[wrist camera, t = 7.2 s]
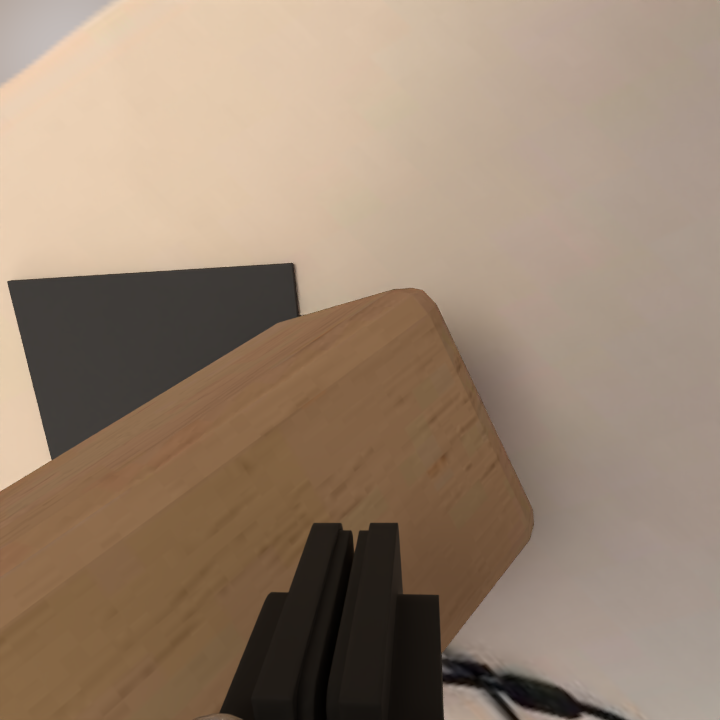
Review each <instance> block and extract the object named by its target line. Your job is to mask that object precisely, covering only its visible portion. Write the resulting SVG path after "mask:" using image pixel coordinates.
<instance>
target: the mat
mask: <svg viewBox="0 0 720 720" xmlns="http://www.w3.org/2000/svg"><path fill="white" fill-rule="evenodd" d="M7 283H8V287H9V291H10V295H11V299H12V303H13V307H14V311H15V315H16V319H17V323H18V327H19V331H20V335H21V339H22V343H23V347H24V351H25V355H26V359H27V363H28V367H29V371H30V375H31V379H32V383H33V387H34V391H35V395H36V399H37V403H38V407H39V411H40V415H41V419H42V423H43V427H44V431H45V435H46V439H47V443H48V447H49V451H50V455H51V459H52V460H53V459H55V458H57V457H58V456H60V455H61V454H63V453H65V452H66V451H68V450H70V449H71V448H73V447H75V446H76V445H78V444H80V443H81V442H83V441H85V440H86V439H88V438H89V437H91V436H93V435H94V434H96V433H98V432H99V431H101V430H103V429H104V428H106V427H108V426H109V425H111V424H112V423H114V422H116V421H117V420H119V419H121V418H122V417H124V416H126V415H127V414H129V413H131V412H132V411H134V410H136V409H137V408H139V407H140V406H142V405H144V404H145V403H147V402H149V401H150V400H152V399H154V398H155V397H157V396H159V395H160V394H162V393H164V392H165V391H167V390H168V389H170V388H172V387H173V386H175V385H177V384H178V383H180V382H182V381H183V380H185V379H187V378H188V377H190V376H191V375H193V374H195V373H196V372H198V371H200V370H201V369H203V368H205V367H206V366H208V365H210V364H211V363H213V362H215V361H216V360H218V359H219V358H221V357H223V356H224V355H226V354H228V353H229V352H231V351H233V350H234V349H236V348H238V347H239V346H241V345H242V344H244V343H246V342H247V341H249V340H251V339H252V338H254V337H256V336H257V335H259V334H261V333H262V332H264V331H266V330H267V329H269V328H270V327H272V326H274V325H275V324H277V323H279V322H283V321H286V320H290V319H293V318H296V317H299V315H298V305H297V296H296V286H295V276H294V267H293V263H284V264H268V265H252V266H236V267H220V268H204V269H188V270H172V271H156V272H139V273H123V274H107V275H91V276H75V277H59V278H43V279H27V280H11V281H7Z"/></svg>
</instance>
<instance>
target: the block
mask: <svg viewBox="0 0 720 720" xmlns="http://www.w3.org/2000/svg"><path fill="white" fill-rule="evenodd" d="M313 523H341V524H342V526H343V530H351V531H352V533H353V542H354V553H355V548H356V544H357V539H358V534H359V531H360V530H369V525H370V523H398V526H399V539H400V554H401V569H402V585H403V594H423V595H439V608H440V631H441V654H442V652H443V651H444V650H445V648H446V647H447V646H448V645H449V643H450V642H451V641H452V639H453V638H454V637H455V636H456V634H457V633H458V632H459V630H460V629H461V628H462V626H463V625H464V624H465V623H466V621H467V620H468V619H469V617H470V616H471V615H472V614H473V612H474V611H475V610H476V608H477V607H478V606H479V604H480V603H481V602H482V601H483V599H484V598H485V597H486V595H487V594H488V593H489V592H490V590H491V589H492V588H493V586H494V585H495V584H496V582H497V581H498V580H499V579H500V577H501V576H502V575H503V573H504V572H505V571H506V570H507V568H508V567H509V566H510V564H511V563H512V562H513V560H514V559H515V558H516V557H517V555H518V554H519V553H520V551H521V550H522V549H523V548H524V546H525V545H526V544H527V542H528V541H529V540H530V537H531V533H532V530H533V526H534V520H533V509H532V507H531V505H530V503H529V501H528V498H527V496H526V494H525V492H524V490H523V488H522V486H521V484H520V481H519V479H518V477H517V475H516V473H515V471H514V469H513V466H512V464H511V462H510V460H509V458H508V456H507V454H506V452H505V449H504V447H503V445H502V443H501V441H500V439H499V437H498V435H497V432H496V430H495V428H494V426H493V424H492V422H491V420H490V418H489V415H488V413H487V411H486V409H485V407H484V405H483V403H482V400H481V398H480V396H479V394H478V392H477V390H476V388H475V386H474V383H473V381H472V379H471V377H470V375H469V373H468V371H467V369H466V366H465V364H464V362H463V360H462V358H461V356H460V354H459V351H458V349H457V347H456V345H455V343H454V341H453V339H452V337H451V334H450V332H449V330H448V328H447V326H446V324H445V322H444V320H443V317H442V315H441V313H440V311H439V309H438V307H437V305H436V303H435V302H434V301H433V300H432V299H431V298H430V297H429V296H428V295H427V294H426V293H425V292H424V291H423V290H419V289H414V288H406V289H393V290H390V291H386V292H383V293H379V294H376V295H372V296H369V297H366V298H362V299H359V300H355V301H352V302H348V303H345V304H341V305H338V306H334V307H331V308H328V309H324V310H321V311H317V312H314V313H310V314H307V315H303V316H300V317H296V318H293V319H290V320H286V321H283V322H279V323H277V324H275V325H274V326H272V327H270V328H269V329H267V330H266V331H264V332H262V333H261V334H259V335H257V336H256V337H254V338H252V339H251V340H249V341H247V342H246V343H244V344H242V345H241V346H239V347H238V348H236V349H234V350H233V351H231V352H229V353H228V354H226V355H224V356H223V357H221V358H219V359H218V360H216V361H215V362H213V363H211V364H210V365H208V366H206V367H205V368H203V369H201V370H200V371H198V372H196V373H195V374H193V375H191V376H190V377H188V378H187V379H185V380H183V381H182V382H180V383H178V384H177V385H175V386H173V387H172V388H170V389H168V390H167V391H165V392H164V393H162V394H160V395H159V396H157V397H155V398H154V399H152V400H150V401H149V402H147V403H145V404H144V405H142V406H140V407H139V408H137V409H136V410H134V411H132V412H131V413H129V414H127V415H126V416H124V417H122V418H121V419H119V420H117V421H116V422H114V423H112V424H111V425H109V426H108V427H106V428H104V429H103V430H101V431H99V432H98V433H96V434H94V435H93V436H91V437H89V438H88V439H86V440H85V441H83V442H81V443H80V444H78V445H76V446H75V447H73V448H71V449H70V450H68V451H66V452H65V453H63V454H61V455H60V456H58V457H57V458H55V459H53V460H52V461H50V462H48V463H47V464H45V465H43V466H42V467H40V468H38V469H37V470H35V471H34V472H32V473H30V474H29V475H27V476H25V477H24V478H22V479H20V480H19V481H17V482H15V483H14V484H12V485H10V486H9V487H7V488H6V489H4V490H2V491H1V492H0V720H193V719H195V718H197V717H200V716H204V715H209V714H213V713H219V712H220V710H221V707H222V705H223V702H224V700H225V697H226V695H227V692H228V690H229V687H230V685H231V682H232V680H233V678H234V675H235V673H236V670H237V668H238V665H239V663H240V660H241V658H242V655H243V653H244V650H245V648H246V646H247V643H248V641H249V638H250V636H251V633H252V631H253V628H254V626H255V623H256V621H257V618H258V616H259V613H260V611H261V609H262V606H263V604H264V601H265V599H266V597H267V595H268V594H269V593H271V592H289V589H290V586H291V583H292V581H293V578H294V575H295V572H296V569H297V567H298V564H299V561H300V558H301V555H302V552H303V550H304V547H305V544H306V541H307V538H308V535H309V533H310V530H311V527H312V525H313Z"/></svg>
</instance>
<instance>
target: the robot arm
mask: <svg viewBox="0 0 720 720" xmlns="http://www.w3.org/2000/svg"><path fill="white" fill-rule="evenodd" d="M193 720H444V710H443V681H442V655H441V631H440V608H439V595H423V594H403V585H402V569H401V554H400V539H399V526H398V523H370V525H369V530H360V531H359V534H358V539H357V544H356V548H355V553H354V542H353V533H352V531H351V530H343V526H342V524H341V523H313V525H312V527H311V530H310V533H309V535H308V538H307V541H306V544H305V547H304V550H303V552H302V555H301V558H300V561H299V564H298V567H297V569H296V572H295V575H294V578H293V581H292V583H291V586H290V589H289V592H271V593H269V594H268V595H267V597H266V599H265V601H264V604H263V606H262V609H261V611H260V613H259V616H258V618H257V621H256V623H255V626H254V628H253V631H252V633H251V636H250V638H249V641H248V643H247V646H246V648H245V650H244V653H243V655H242V658H241V660H240V663H239V665H238V668H237V670H236V673H235V675H234V678H233V680H232V682H231V685H230V687H229V690H228V692H227V695H226V697H225V700H224V702H223V705H222V707H221V710H220V712H219V713H213V714H209V715H204V716H200V717H197V718H195V719H193Z"/></svg>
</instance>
